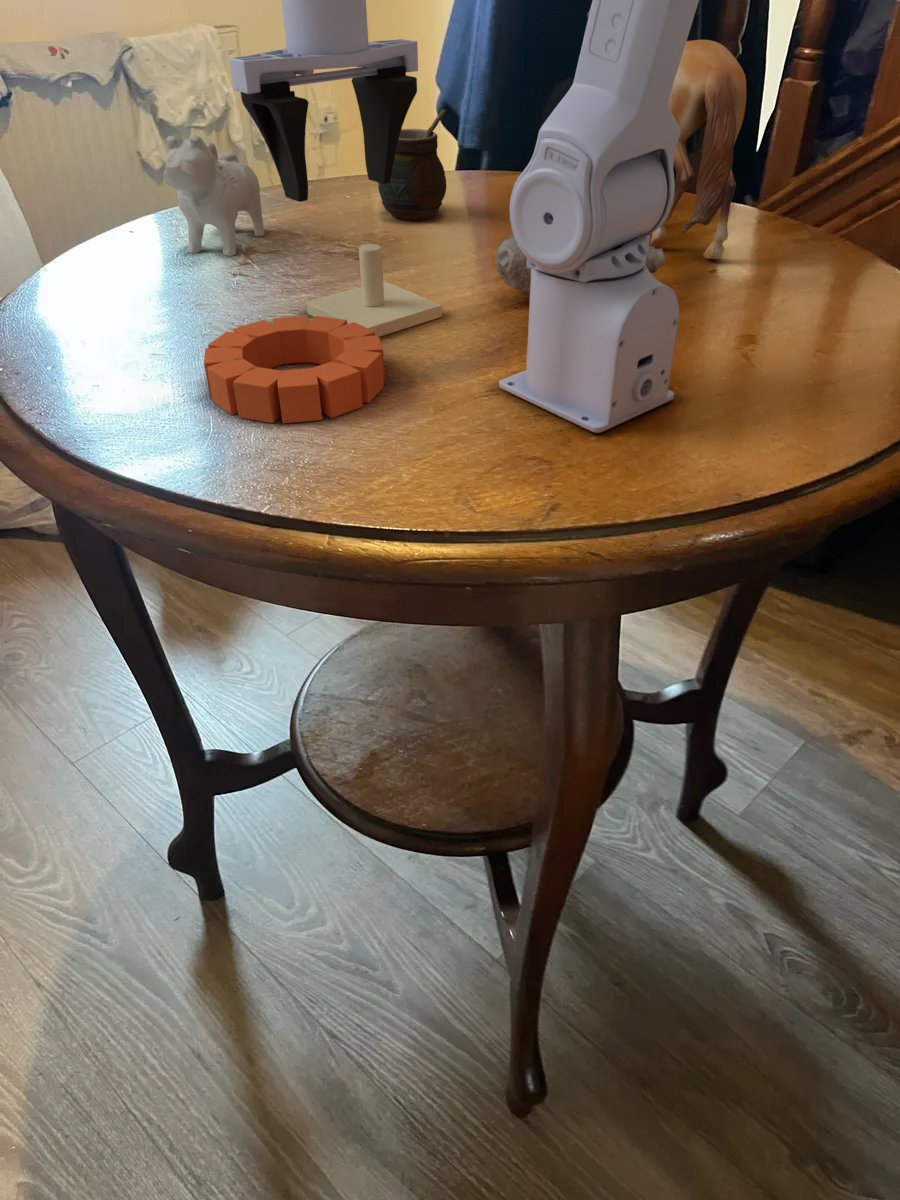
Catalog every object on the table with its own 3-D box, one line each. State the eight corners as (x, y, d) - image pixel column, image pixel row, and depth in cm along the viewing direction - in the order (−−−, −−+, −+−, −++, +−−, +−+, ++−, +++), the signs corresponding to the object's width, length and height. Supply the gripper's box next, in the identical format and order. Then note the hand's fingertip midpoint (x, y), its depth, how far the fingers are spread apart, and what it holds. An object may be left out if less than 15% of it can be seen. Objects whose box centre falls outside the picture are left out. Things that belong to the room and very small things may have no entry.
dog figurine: (165, 265, 85) (140, 141, 78) (225, 226, 94) (207, 112, 88) (217, 269, 84) (195, 144, 77) (272, 229, 93) (257, 115, 87)
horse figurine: (568, 198, 102) (583, -21, 90) (632, 194, 104) (656, -23, 91) (681, 290, 78) (723, 10, 66) (762, 283, 80) (819, 6, 67)
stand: (442, 316, 74) (441, 248, 70) (363, 342, 70) (358, 270, 66) (383, 291, 79) (380, 226, 75) (306, 313, 75) (299, 245, 71)
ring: (418, 386, 63) (416, 351, 62) (269, 441, 57) (263, 403, 56) (321, 336, 71) (317, 304, 69) (179, 380, 65) (172, 345, 63)
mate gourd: (366, 213, 98) (360, 110, 92) (422, 201, 102) (420, 102, 95) (403, 228, 93) (399, 121, 87) (461, 215, 97) (461, 112, 91)
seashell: (679, 274, 73) (650, 174, 70) (525, 341, 76) (489, 248, 72) (662, 264, 79) (634, 172, 76) (519, 327, 81) (485, 240, 78)
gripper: (373, -35, 66) (384, 165, 74) (195, -25, 59) (228, 196, 67) (434, -31, 62) (438, 180, 70) (249, -20, 54) (278, 215, 63)
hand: (339, 189), depth 68 cm, fingers open, 7 cm apart
